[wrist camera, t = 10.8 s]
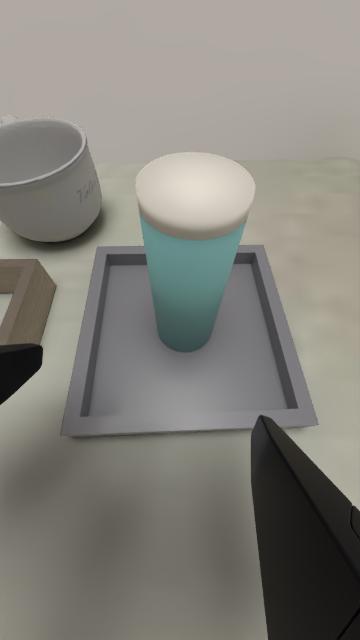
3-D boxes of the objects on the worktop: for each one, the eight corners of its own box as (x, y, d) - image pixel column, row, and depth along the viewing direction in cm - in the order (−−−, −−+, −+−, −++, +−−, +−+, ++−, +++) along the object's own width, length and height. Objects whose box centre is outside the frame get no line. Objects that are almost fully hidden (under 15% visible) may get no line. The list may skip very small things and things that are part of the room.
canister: (198, 361, 18) (232, 237, 7) (147, 338, 19) (111, 197, 8) (219, 316, 20) (269, 168, 9) (172, 296, 21) (169, 142, 10)
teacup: (117, 245, 25) (95, 164, 18) (9, 269, 23) (-64, 188, 16) (96, 176, 31) (73, 97, 24) (10, 190, 29) (-41, 108, 22)
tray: (303, 427, 16) (318, 424, 14) (72, 437, 15) (59, 435, 14) (256, 259, 24) (263, 244, 22) (102, 261, 23) (97, 246, 22)
